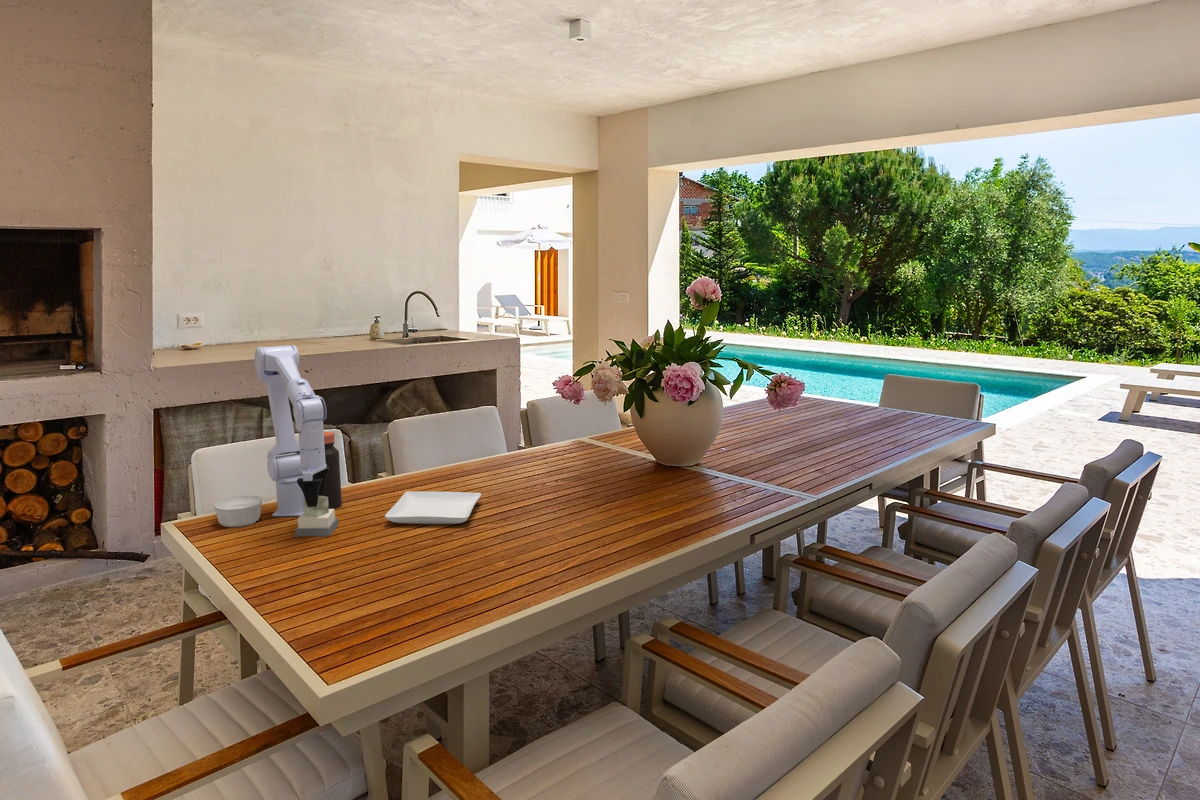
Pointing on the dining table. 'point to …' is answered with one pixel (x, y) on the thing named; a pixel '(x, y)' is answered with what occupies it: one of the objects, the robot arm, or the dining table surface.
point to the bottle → (332, 472)
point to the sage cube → (320, 509)
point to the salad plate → (433, 507)
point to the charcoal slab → (317, 530)
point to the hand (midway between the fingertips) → (315, 501)
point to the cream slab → (316, 520)
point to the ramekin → (238, 510)
